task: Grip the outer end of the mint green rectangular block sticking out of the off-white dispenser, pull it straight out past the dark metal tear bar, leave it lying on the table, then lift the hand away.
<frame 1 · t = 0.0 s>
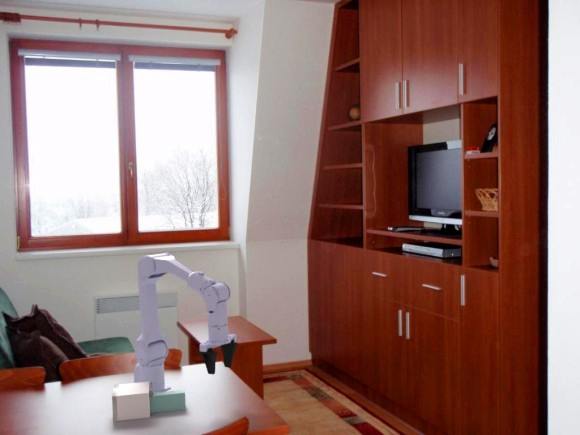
hand: (219, 370, 187), 10 cm above the table, fingers open, 7 cm apart
dispenser: (132, 412, 182), on the table
mint green rectangular block: (157, 411, 184), on the table
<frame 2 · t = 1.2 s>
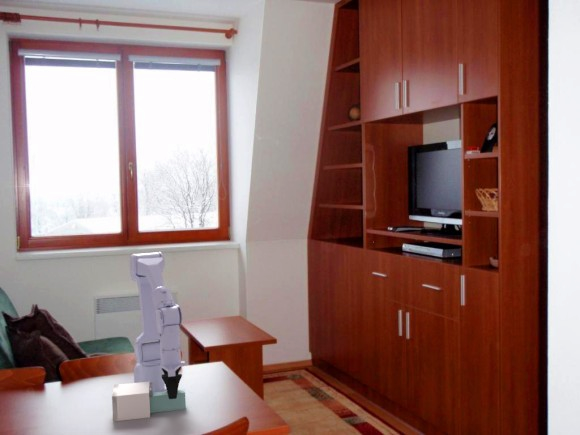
hand: (172, 394, 184), 4 cm above the table, fingers open, 7 cm apart
nothing on the table moved.
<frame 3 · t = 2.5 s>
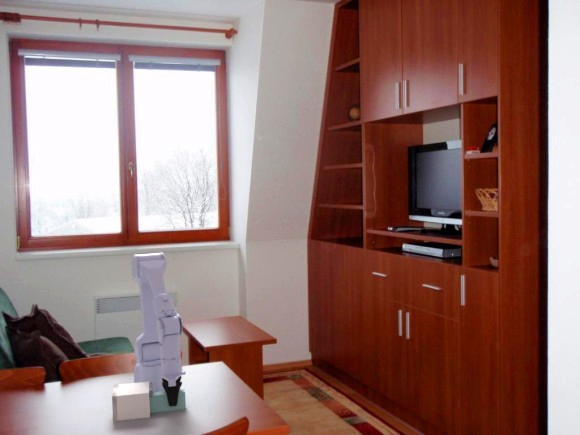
hand: (172, 403, 185), 1 cm above the table, fingers closed on mint green rectangular block, 3 cm apart
mint green rectangular block: (157, 410, 184), on the table, touching gripper
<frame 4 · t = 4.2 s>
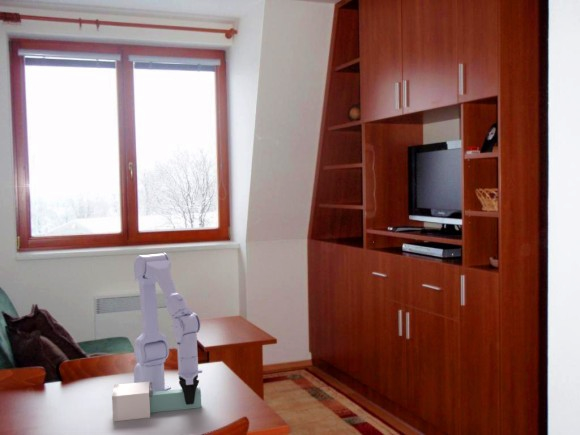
hand: (189, 402, 186), 1 cm above the table, fingers closed on mint green rectangular block, 3 cm apart
mint green rectangular block: (173, 408, 185), on the table, touching gripper
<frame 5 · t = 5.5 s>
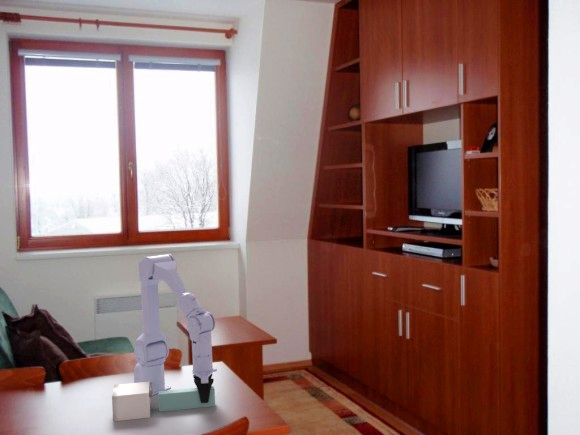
hand: (204, 400, 186), 1 cm above the table, fingers closed on mint green rectangular block, 3 cm apart
mint green rectangular block: (187, 407, 186), on the table, touching gripper
when the fingers open (1 cm above the table, at t = 6.2 s): mint green rectangular block stays where it is, on the table.
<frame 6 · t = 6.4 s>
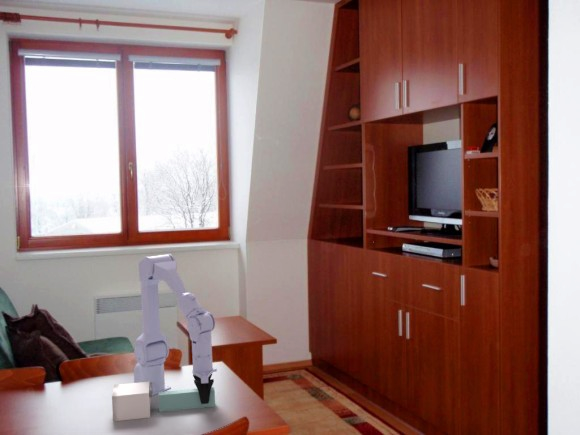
hand: (204, 400, 186), 1 cm above the table, fingers open, 4 cm apart
mint green rectangular block: (187, 407, 186), on the table
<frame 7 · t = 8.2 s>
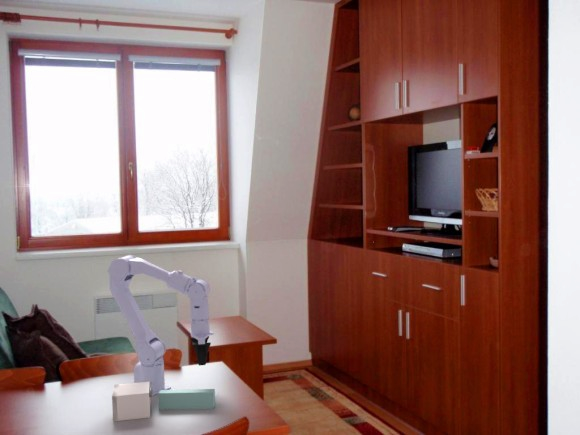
hand: (201, 361, 200), 9 cm above the table, fingers open, 7 cm apart
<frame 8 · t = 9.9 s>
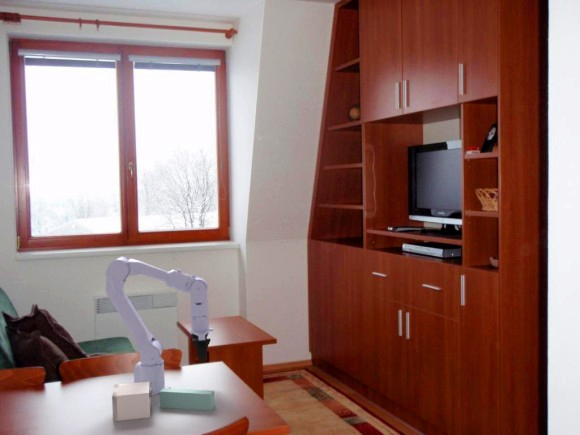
hand: (201, 357, 204), 9 cm above the table, fingers open, 7 cm apart
at the end: mint green rectangular block 2.7 cm from the target spot on the table beside the dispenser, on the table; mint green rectangular block touching table; mint green rectangular block tilted 0° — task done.
